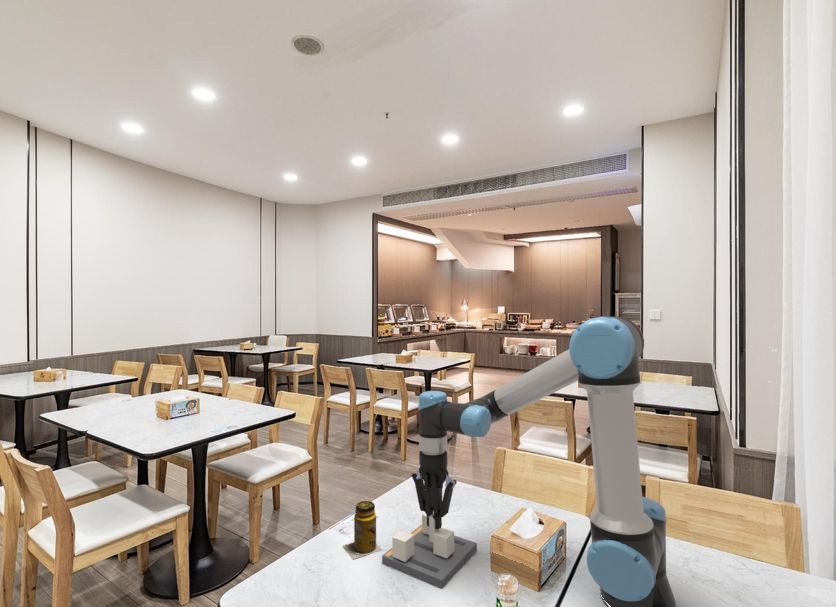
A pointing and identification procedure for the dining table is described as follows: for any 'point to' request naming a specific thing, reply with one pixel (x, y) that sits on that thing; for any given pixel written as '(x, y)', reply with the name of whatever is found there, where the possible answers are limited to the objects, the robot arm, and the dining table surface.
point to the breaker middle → (443, 542)
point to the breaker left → (403, 545)
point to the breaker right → (425, 524)
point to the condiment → (363, 531)
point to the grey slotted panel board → (432, 560)
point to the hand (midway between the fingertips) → (434, 539)
